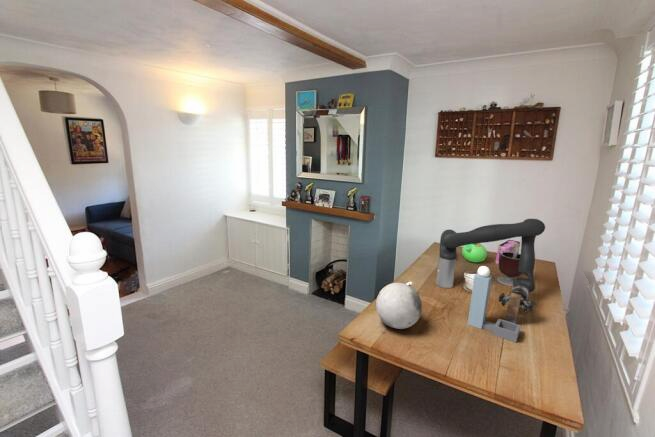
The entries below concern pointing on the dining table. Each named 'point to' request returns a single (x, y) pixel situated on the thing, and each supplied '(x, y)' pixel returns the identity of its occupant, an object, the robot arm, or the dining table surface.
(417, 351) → the dining table surface
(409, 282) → the bull figurine
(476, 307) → the post
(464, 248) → the green rounded lump
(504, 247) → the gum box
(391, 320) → the moon model
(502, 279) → the mate gourd
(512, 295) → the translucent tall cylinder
